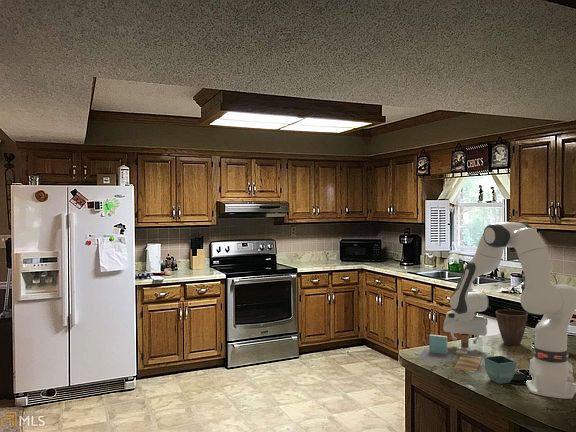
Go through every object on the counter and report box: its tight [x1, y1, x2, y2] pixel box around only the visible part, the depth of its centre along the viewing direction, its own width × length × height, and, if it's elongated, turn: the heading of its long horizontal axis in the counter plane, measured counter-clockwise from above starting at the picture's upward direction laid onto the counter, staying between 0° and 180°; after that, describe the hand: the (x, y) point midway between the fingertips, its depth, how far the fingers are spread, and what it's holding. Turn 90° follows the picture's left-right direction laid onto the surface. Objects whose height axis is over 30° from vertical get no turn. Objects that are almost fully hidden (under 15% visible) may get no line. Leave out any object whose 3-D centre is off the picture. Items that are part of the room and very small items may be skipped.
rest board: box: [454, 354, 483, 373], centre depth 219 cm, size 20×9×1 cm, turn 153°
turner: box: [454, 333, 471, 356], centre depth 239 cm, size 15×5×7 cm, turn 153°
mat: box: [417, 348, 455, 363], centre depth 231 cm, size 16×14×1 cm
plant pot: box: [495, 309, 529, 347], centre depth 251 cm, size 15×15×16 cm
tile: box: [428, 334, 448, 354], centre depth 235 cm, size 2×8×8 cm, turn 62°
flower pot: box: [483, 355, 517, 385], centre depth 197 cm, size 9×9×9 cm
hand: (464, 342), depth 244 cm, fingers open, 8 cm apart
